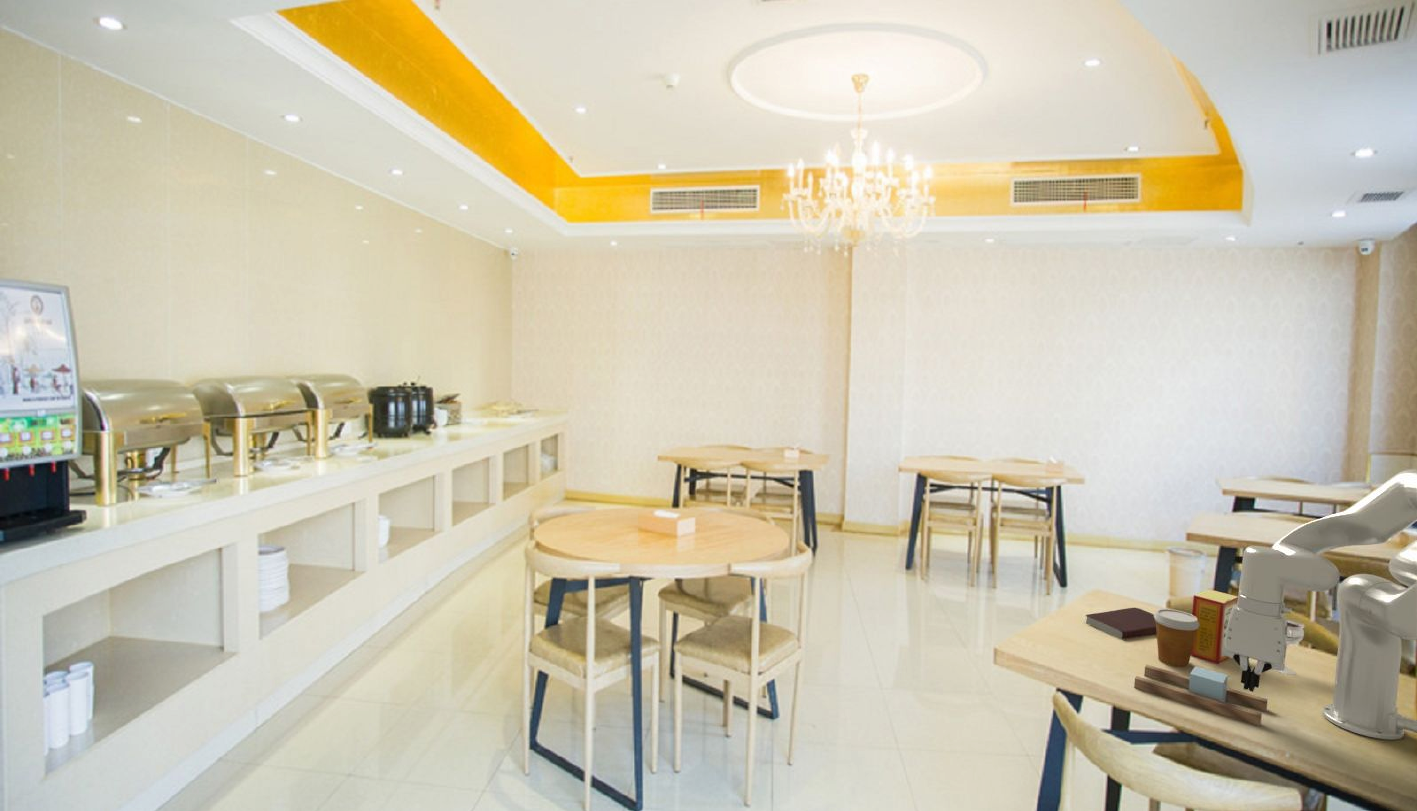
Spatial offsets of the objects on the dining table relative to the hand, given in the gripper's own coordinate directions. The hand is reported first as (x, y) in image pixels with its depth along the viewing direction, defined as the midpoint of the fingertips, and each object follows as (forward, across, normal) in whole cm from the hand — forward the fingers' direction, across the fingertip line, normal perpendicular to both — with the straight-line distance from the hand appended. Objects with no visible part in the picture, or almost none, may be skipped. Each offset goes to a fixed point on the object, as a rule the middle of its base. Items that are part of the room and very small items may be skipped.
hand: (1249, 688), depth 151 cm
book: (+6, +31, -36) cm, 48 cm away
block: (+6, +7, -1) cm, 9 cm away
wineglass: (+5, -3, -34) cm, 34 cm away
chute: (+6, +9, -1) cm, 10 cm away
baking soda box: (+6, +11, -31) cm, 33 cm away
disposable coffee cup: (+6, +17, -19) cm, 26 cm away
